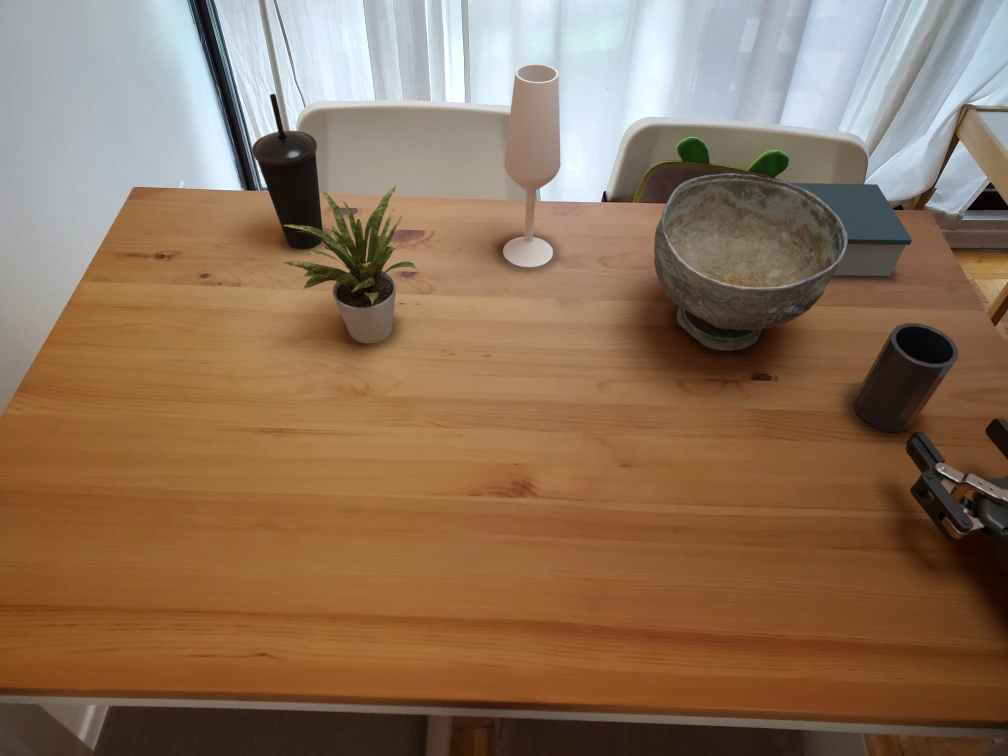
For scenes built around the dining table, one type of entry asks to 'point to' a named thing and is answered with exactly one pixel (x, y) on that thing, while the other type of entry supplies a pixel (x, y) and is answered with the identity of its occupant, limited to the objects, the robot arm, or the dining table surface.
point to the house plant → (358, 272)
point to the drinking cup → (291, 180)
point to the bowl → (744, 255)
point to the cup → (904, 377)
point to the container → (864, 227)
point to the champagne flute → (533, 152)
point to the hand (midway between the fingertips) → (952, 430)
